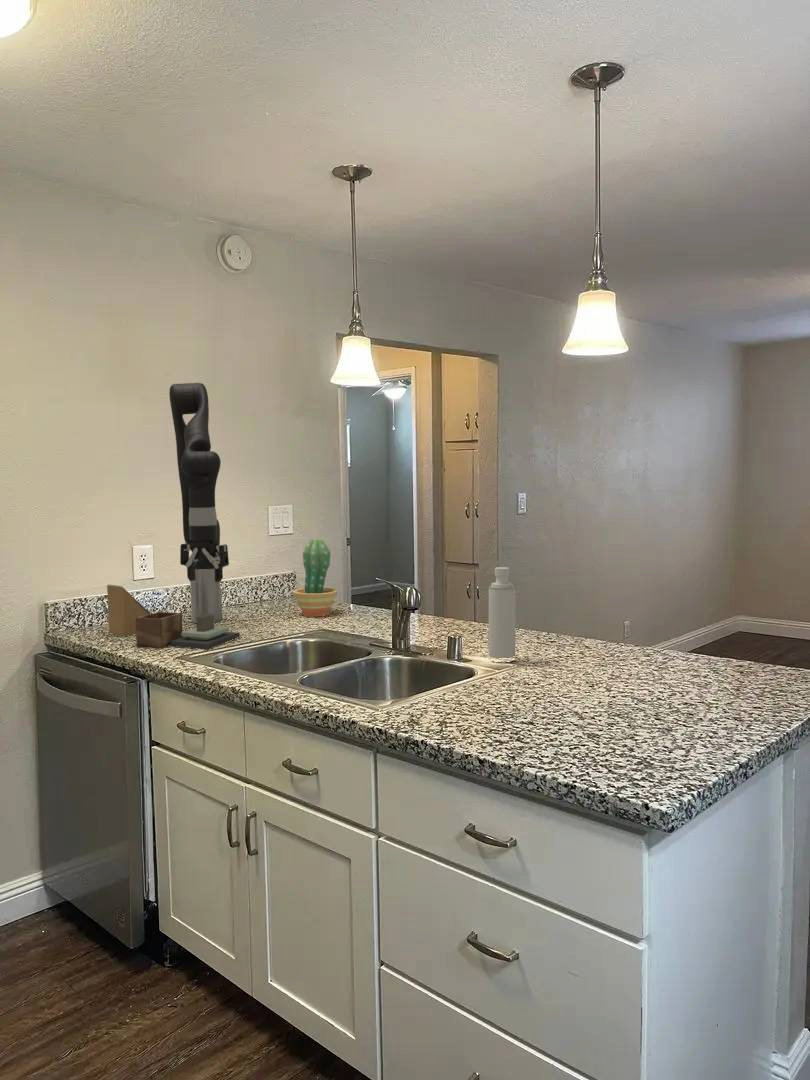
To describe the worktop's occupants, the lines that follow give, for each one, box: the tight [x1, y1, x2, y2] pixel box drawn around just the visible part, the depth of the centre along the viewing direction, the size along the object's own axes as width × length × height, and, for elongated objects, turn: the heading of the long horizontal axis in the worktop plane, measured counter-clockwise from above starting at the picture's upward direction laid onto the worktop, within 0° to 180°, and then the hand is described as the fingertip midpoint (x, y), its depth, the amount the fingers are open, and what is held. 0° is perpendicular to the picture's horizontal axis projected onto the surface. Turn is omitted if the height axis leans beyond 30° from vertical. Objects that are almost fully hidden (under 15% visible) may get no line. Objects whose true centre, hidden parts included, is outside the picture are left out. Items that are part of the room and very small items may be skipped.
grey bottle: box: [488, 566, 517, 658], centre depth 205 cm, size 7×7×25 cm
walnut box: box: [135, 611, 184, 649], centre depth 228 cm, size 10×8×8 cm
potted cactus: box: [292, 539, 339, 617], centre depth 271 cm, size 15×15×25 cm
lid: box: [181, 614, 230, 640], centre depth 230 cm, size 11×9×6 cm
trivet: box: [170, 631, 240, 650], centre depth 230 cm, size 16×12×2 cm
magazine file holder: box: [106, 584, 152, 637], centre depth 246 cm, size 9×15×15 cm, turn 140°
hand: (205, 581), depth 229 cm, fingers open, 8 cm apart
